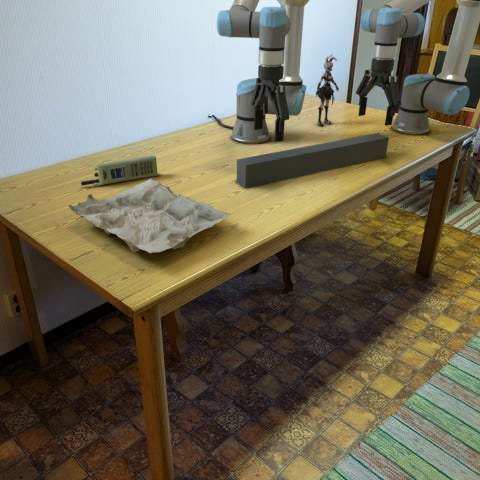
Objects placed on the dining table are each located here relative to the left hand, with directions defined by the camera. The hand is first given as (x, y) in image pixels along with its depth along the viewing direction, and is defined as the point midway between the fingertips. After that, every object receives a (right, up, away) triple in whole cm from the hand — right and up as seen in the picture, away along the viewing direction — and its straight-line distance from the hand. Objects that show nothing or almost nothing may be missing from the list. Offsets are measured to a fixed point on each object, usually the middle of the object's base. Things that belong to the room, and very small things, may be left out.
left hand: (268, 135), depth 160 cm
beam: (+18, -8, +19) cm, 27 cm away
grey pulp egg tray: (-34, -29, -21) cm, 49 cm away
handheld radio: (-48, -14, +7) cm, 51 cm away
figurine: (+28, +18, +66) cm, 74 cm away
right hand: (+39, +10, +22) cm, 46 cm away
